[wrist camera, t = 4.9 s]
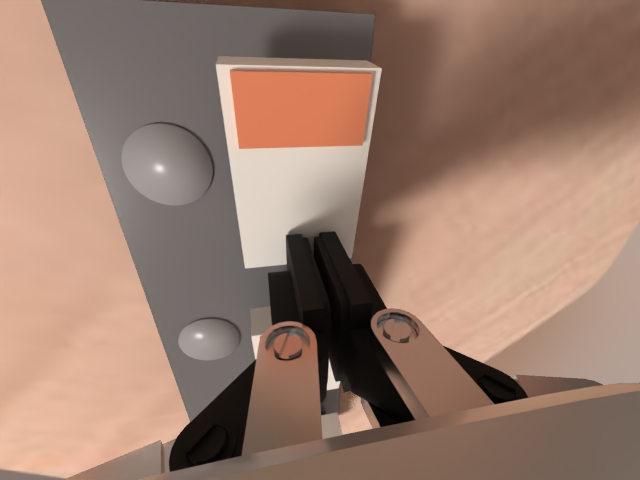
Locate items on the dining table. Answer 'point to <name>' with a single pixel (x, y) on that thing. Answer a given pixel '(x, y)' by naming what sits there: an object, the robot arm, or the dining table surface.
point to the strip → (185, 158)
